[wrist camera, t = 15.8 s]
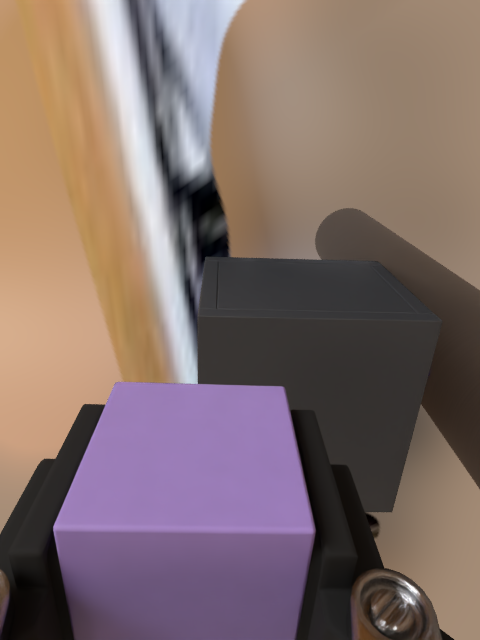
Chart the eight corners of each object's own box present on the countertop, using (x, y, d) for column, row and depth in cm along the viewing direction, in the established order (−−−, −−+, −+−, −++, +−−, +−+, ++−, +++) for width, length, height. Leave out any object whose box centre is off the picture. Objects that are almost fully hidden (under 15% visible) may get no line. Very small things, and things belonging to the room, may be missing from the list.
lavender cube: (271, 507, 12) (291, 678, 8) (125, 504, 12) (78, 678, 8) (285, 385, 10) (317, 531, 7) (114, 380, 10) (49, 528, 6)
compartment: (350, 414, 31) (392, 512, 24) (204, 412, 31) (198, 512, 23) (378, 261, 26) (443, 320, 19) (205, 256, 26) (197, 315, 18)
